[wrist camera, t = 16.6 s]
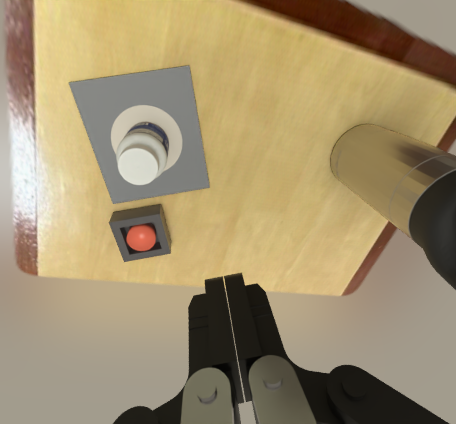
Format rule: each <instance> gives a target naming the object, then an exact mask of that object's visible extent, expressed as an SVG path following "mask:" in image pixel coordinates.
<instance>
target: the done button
mask: <svg viewBox="0 0 456 424" xmlns="http://www.w3.org/2000/svg"><path fill="white" fill-rule="evenodd" d="M155 240H156V228H155V227H154V225H153V224H151V223H145V224H139V225H134V226H130V228H129V231H128V234H127V243H128V245H129V246H130V247H131V248H133V249H135V250H137V251H146V250H149V249H150V248H152V247H153V246H154V244H155Z"/></svg>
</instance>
